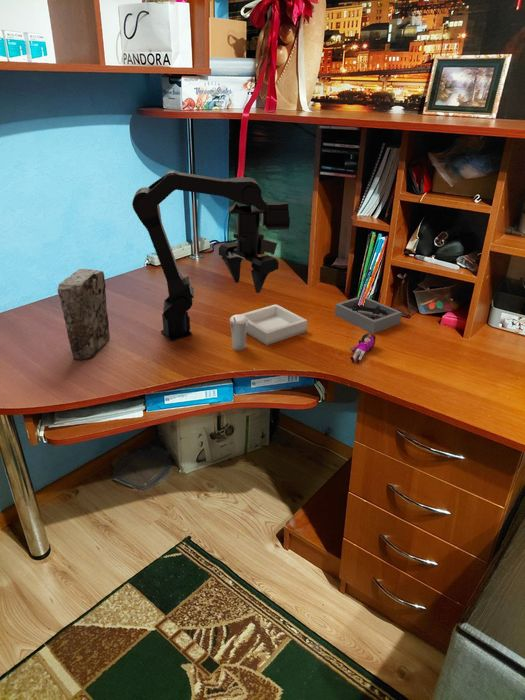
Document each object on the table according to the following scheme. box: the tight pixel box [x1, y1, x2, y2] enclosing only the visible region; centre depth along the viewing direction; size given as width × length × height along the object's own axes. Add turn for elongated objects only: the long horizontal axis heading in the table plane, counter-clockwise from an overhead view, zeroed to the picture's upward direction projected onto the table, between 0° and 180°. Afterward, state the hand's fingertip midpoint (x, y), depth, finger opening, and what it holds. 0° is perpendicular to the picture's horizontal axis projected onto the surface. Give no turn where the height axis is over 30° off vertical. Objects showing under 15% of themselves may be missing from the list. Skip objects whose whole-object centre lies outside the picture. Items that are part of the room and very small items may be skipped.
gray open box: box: [334, 297, 403, 335], centre depth 155 cm, size 11×15×4 cm
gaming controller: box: [349, 303, 387, 320], centre depth 155 cm, size 11×4×7 cm
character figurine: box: [349, 332, 377, 365], centre depth 136 cm, size 6×5×12 cm
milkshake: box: [229, 313, 248, 351], centre depth 137 cm, size 4×5×10 cm
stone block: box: [57, 268, 111, 361], centre depth 133 cm, size 13×7×20 cm, turn 175°
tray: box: [241, 303, 308, 346], centre depth 149 cm, size 14×14×4 cm
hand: (247, 287), depth 143 cm, fingers open, 9 cm apart
